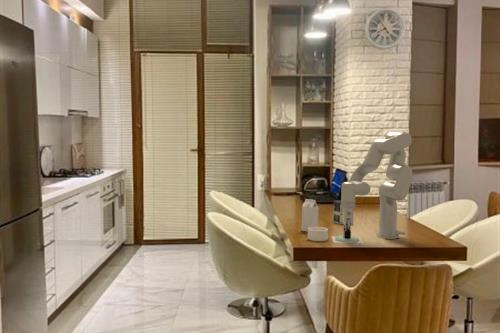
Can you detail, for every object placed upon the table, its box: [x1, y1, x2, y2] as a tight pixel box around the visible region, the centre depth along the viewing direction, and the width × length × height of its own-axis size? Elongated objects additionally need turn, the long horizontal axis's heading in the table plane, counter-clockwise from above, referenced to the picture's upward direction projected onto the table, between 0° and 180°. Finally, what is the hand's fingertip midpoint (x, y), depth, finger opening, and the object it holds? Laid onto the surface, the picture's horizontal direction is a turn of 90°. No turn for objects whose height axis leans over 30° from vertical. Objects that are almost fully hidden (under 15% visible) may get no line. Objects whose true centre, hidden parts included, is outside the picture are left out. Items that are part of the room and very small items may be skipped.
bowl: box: [307, 226, 329, 242], centre depth 272 cm, size 11×11×6 cm
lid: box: [335, 229, 359, 242], centre depth 270 cm, size 13×13×5 cm
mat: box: [331, 235, 364, 245], centre depth 270 cm, size 16×16×1 cm
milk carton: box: [301, 198, 319, 233], centre depth 294 cm, size 7×7×19 cm
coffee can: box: [332, 199, 344, 225], centre depth 323 cm, size 10×10×14 cm
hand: (347, 236), depth 270 cm, fingers open, 6 cm apart
